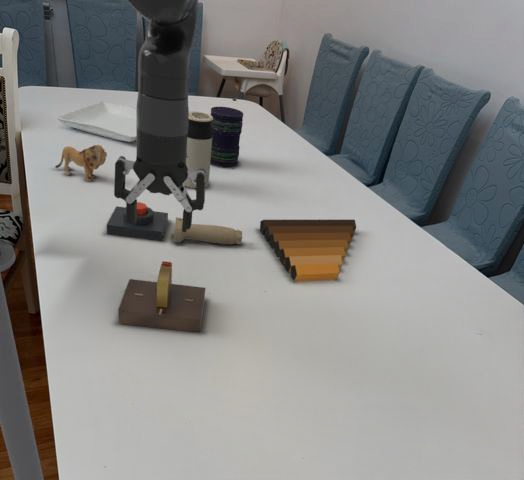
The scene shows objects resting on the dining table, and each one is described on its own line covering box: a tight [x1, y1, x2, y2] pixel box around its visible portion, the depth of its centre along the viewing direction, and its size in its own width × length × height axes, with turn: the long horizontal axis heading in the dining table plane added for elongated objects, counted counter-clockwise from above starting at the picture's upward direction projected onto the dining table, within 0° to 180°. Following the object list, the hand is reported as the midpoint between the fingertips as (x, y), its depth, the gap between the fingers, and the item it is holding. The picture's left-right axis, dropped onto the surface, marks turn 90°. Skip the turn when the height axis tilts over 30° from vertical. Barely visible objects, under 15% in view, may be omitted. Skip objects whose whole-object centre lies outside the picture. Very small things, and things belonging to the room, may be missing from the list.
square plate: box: [56, 101, 137, 143], centre depth 165 cm, size 27×27×4 cm
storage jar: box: [210, 98, 244, 169], centre depth 151 cm, size 10×10×18 cm
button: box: [137, 201, 148, 215], centre depth 111 cm, size 4×4×2 cm
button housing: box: [106, 205, 169, 241], centre depth 113 cm, size 12×10×4 cm
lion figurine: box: [54, 144, 108, 182], centre depth 129 cm, size 15×5×9 cm, turn 77°
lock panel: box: [117, 278, 206, 333], centre depth 89 cm, size 14×10×3 cm
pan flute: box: [259, 219, 357, 282], centre depth 117 cm, size 25×3×25 cm
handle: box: [173, 216, 243, 245], centre depth 112 cm, size 5×6×15 cm
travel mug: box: [183, 110, 213, 190], centre depth 133 cm, size 8×8×18 cm
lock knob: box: [156, 260, 173, 308], centre depth 86 cm, size 6×2×6 cm, turn 1°
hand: (159, 226), depth 84 cm, fingers open, 8 cm apart
